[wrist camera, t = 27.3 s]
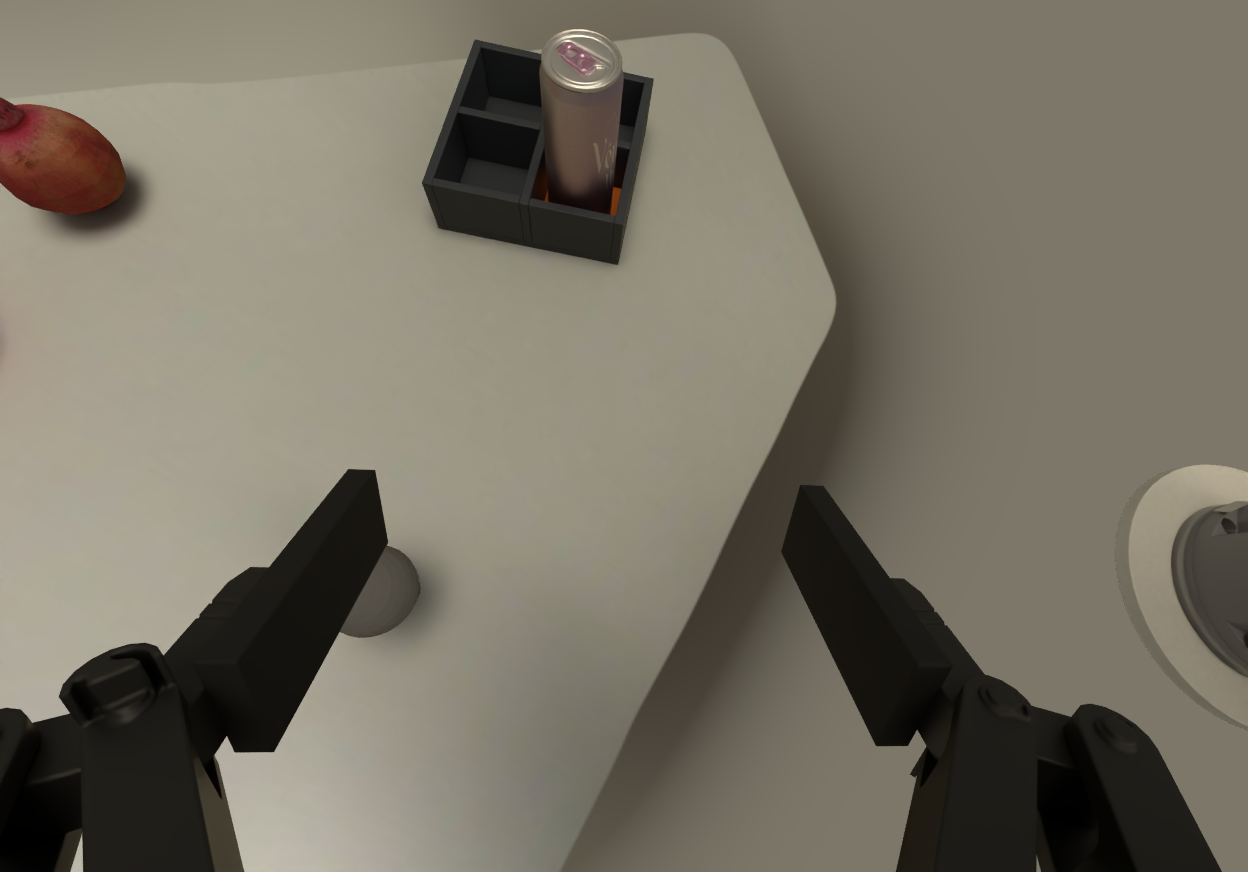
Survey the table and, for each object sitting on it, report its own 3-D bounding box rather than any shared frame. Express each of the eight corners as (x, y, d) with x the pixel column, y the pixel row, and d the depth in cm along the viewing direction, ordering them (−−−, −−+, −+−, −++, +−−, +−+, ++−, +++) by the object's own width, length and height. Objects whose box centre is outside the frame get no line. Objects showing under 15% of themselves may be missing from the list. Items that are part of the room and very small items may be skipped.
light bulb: (407, 537, 40) (354, 521, 30) (460, 583, 39) (423, 581, 29) (353, 596, 38) (279, 598, 29) (407, 644, 37) (350, 663, 28)
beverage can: (577, 176, 50) (578, 13, 36) (622, 212, 50) (642, 59, 35) (536, 212, 49) (520, 55, 34) (582, 249, 48) (585, 105, 34)
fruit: (35, 230, 44) (-113, 131, 35) (76, 158, 47) (-52, 47, 37) (131, 245, 45) (10, 151, 35) (166, 173, 47) (63, 67, 38)
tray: (646, 129, 54) (653, 78, 49) (617, 264, 49) (623, 224, 43) (484, 94, 53) (474, 39, 48) (438, 228, 48) (421, 182, 43)
